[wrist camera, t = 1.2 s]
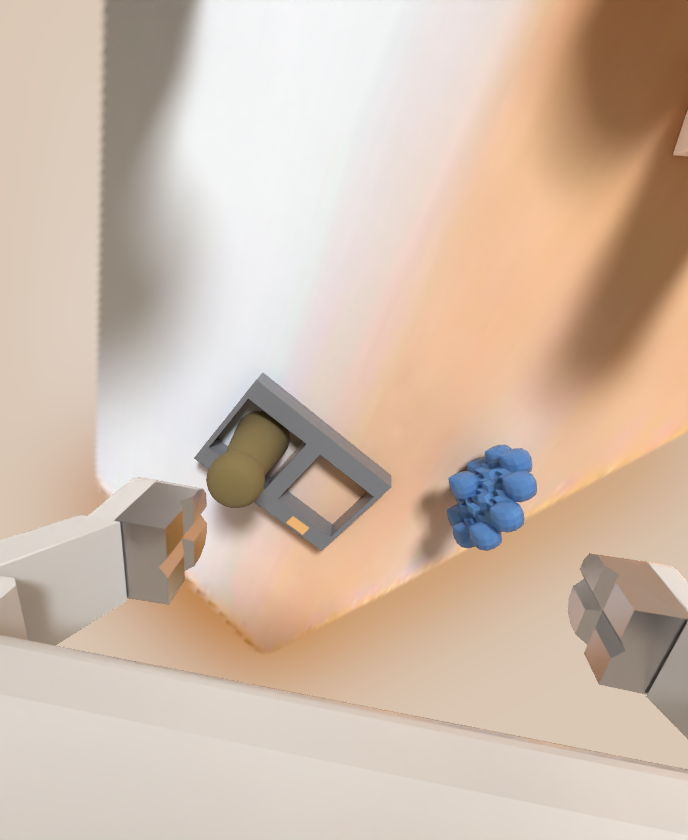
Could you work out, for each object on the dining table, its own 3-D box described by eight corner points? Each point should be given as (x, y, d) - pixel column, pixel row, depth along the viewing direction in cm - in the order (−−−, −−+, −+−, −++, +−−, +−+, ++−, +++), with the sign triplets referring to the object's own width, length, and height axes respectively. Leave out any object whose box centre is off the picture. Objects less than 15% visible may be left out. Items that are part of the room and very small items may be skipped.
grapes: (470, 404, 44) (498, 460, 33) (527, 432, 45) (573, 496, 34) (415, 489, 49) (423, 563, 38) (467, 513, 49) (490, 593, 38)
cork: (267, 469, 49) (236, 530, 39) (225, 436, 48) (183, 489, 38) (300, 436, 47) (277, 490, 37) (258, 400, 46) (221, 446, 36)
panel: (202, 448, 49) (193, 459, 47) (263, 372, 45) (256, 380, 42) (324, 537, 52) (321, 552, 50) (391, 475, 48) (391, 488, 46)
